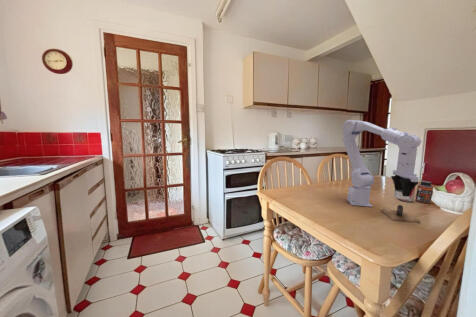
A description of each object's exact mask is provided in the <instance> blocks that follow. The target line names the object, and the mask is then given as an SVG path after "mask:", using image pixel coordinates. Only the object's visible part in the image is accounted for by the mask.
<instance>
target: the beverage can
mask: <svg viewBox="0 0 476 317" xmlns="http://www.w3.org/2000/svg"><path fill="white" fill-rule="evenodd" d="M415 190H416V186H415V187H414V189H413V190H412V192H411V194H410V198H409V200H404V199H399V200H400V201H402V202H405V203H409V202H410V203H411V202H413V201H414V198H415Z"/></svg>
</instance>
